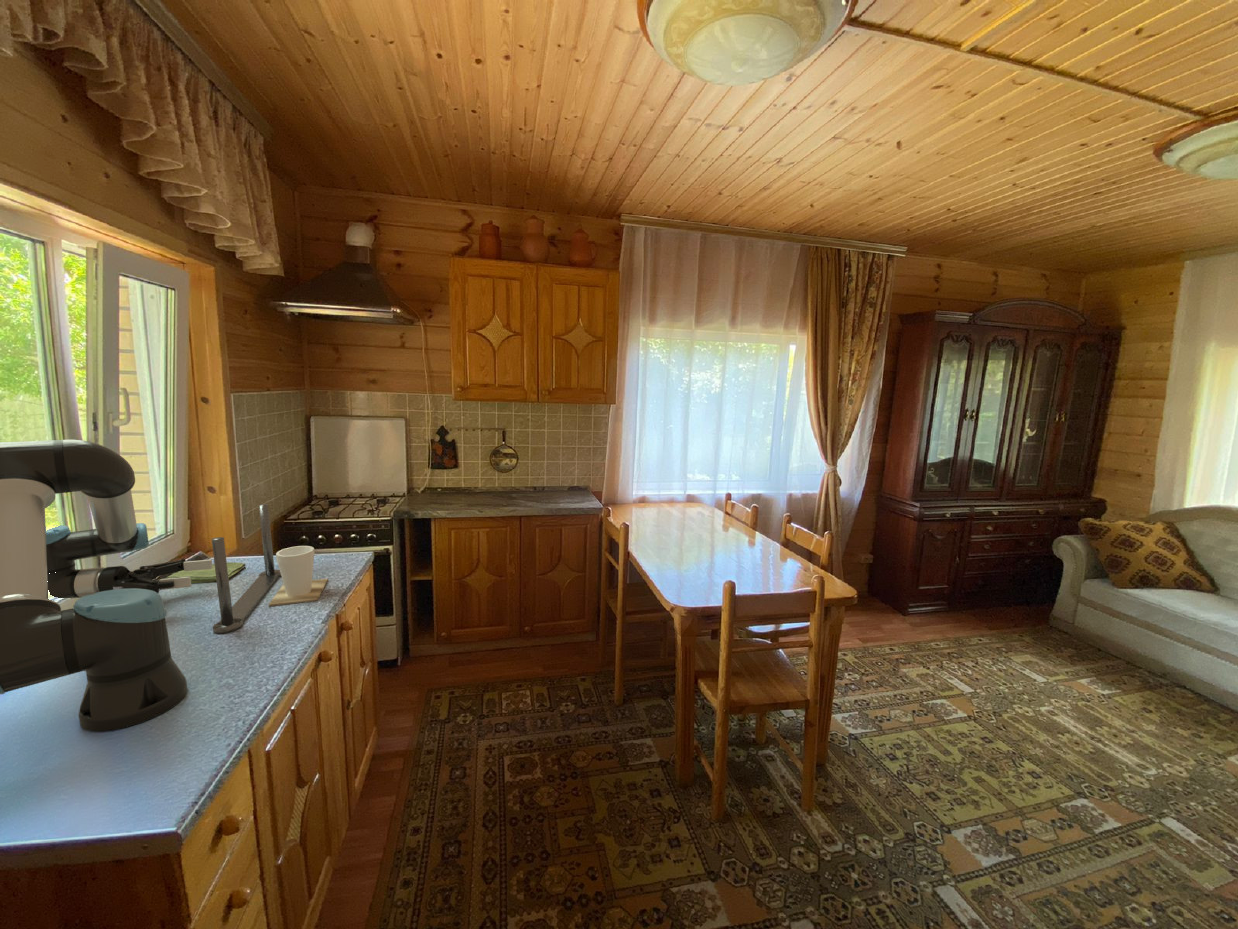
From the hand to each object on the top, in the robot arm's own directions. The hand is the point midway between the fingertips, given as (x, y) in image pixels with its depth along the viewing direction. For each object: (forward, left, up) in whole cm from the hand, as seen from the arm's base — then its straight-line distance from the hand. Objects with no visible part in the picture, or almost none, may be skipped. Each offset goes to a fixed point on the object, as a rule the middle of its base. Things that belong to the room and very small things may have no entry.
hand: (201, 572), depth 139 cm
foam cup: (-2, -24, -9) cm, 25 cm away
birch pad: (-1, -24, -9) cm, 25 cm away
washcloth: (+23, +7, -10) cm, 26 cm away
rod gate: (-2, -12, -9) cm, 15 cm away
